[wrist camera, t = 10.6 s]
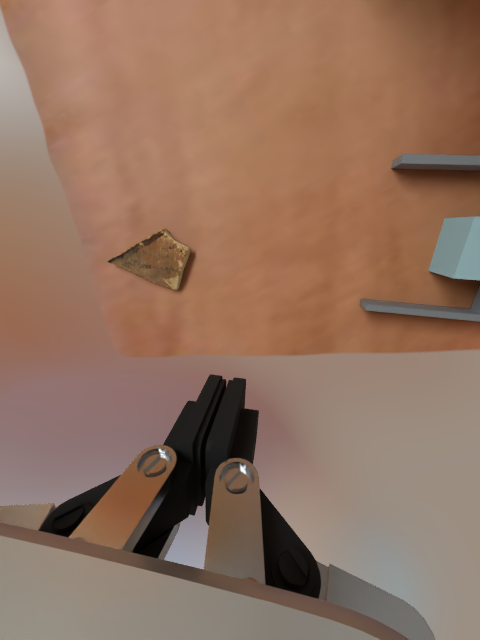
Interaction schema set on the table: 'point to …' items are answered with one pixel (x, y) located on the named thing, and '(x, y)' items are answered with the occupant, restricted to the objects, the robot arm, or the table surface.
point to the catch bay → (475, 313)
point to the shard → (156, 259)
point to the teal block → (458, 249)
